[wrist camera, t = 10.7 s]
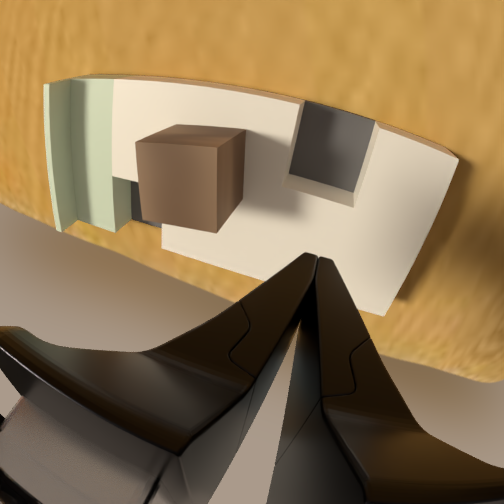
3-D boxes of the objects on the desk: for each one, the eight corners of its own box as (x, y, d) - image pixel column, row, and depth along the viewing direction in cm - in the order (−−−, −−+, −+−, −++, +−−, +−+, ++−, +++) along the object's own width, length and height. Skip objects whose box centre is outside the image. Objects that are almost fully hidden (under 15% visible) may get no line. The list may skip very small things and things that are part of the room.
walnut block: (246, 129, 16) (217, 147, 12) (242, 199, 18) (216, 233, 14) (176, 124, 16) (135, 141, 13) (178, 189, 19) (142, 219, 15)
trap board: (445, 147, 15) (472, 171, 11) (382, 292, 21) (384, 338, 18) (89, 74, 18) (43, 83, 15) (91, 204, 24) (56, 230, 21)
